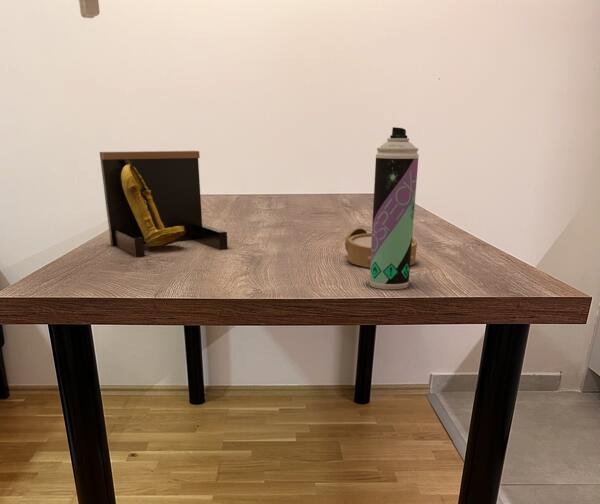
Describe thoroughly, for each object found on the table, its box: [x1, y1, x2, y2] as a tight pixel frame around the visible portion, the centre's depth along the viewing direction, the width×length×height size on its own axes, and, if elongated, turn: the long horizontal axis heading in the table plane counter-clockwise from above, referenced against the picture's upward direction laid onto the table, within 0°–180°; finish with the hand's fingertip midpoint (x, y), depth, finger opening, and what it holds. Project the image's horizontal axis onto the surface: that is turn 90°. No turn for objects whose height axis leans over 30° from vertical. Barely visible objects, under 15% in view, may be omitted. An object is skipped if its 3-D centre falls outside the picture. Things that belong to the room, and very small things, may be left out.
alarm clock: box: [344, 228, 418, 269], centre depth 106 cm, size 11×5×15 cm
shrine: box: [121, 159, 186, 248], centre depth 113 cm, size 12×8×15 cm
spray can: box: [369, 126, 420, 290], centre depth 85 cm, size 6×6×20 cm
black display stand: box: [99, 150, 229, 258], centre depth 114 cm, size 18×14×16 cm
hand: (90, 16), depth 84 cm, fingers closed
